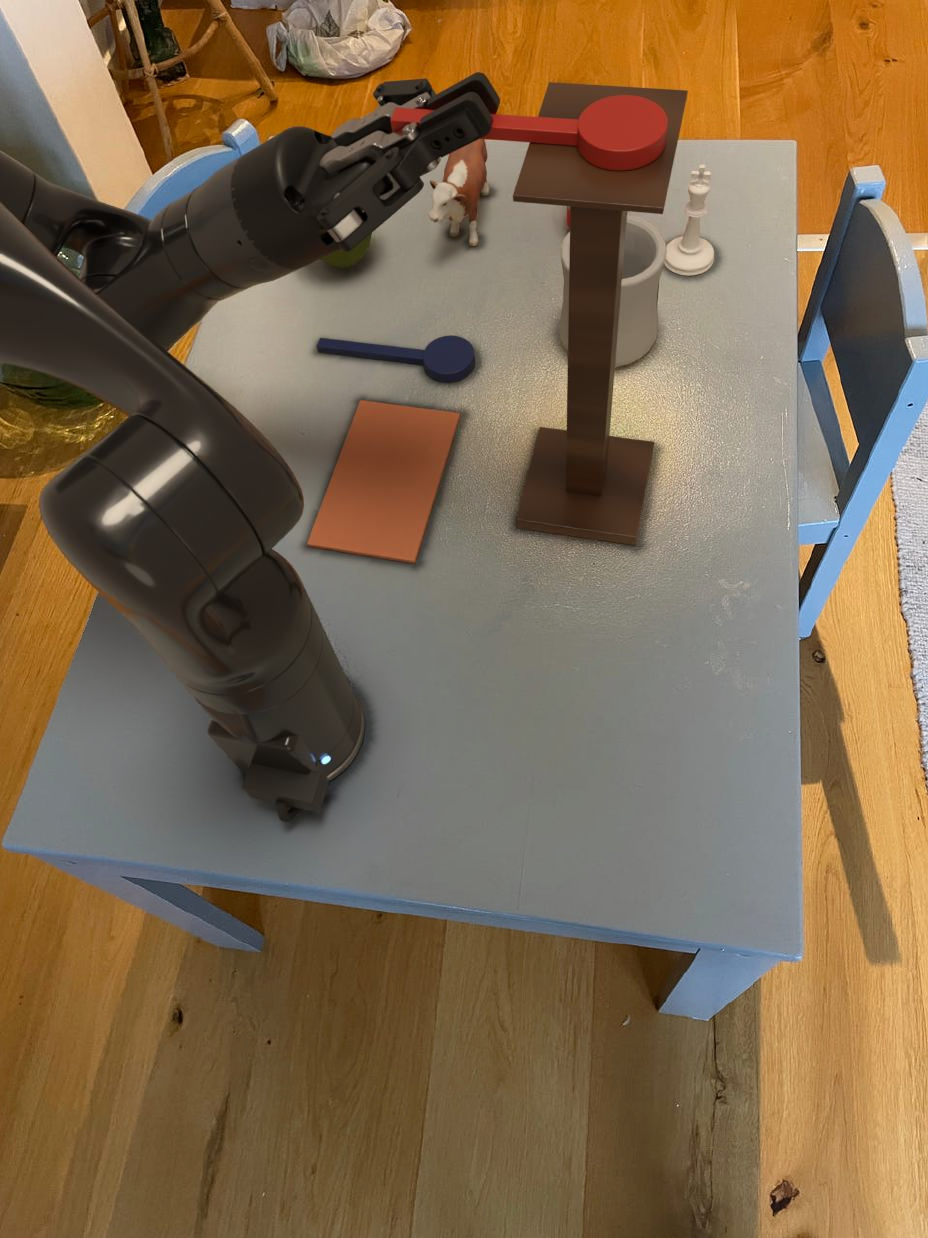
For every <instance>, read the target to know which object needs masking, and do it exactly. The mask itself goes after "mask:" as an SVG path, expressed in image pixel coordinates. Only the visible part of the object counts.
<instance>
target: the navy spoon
mask: <svg viewBox="0 0 928 1238" xmlns="http://www.w3.org/2000/svg"><path fill="white" fill-rule="evenodd" d="M316 350H317V353H323V354H329V355H330V354H331V355H338V356H348V357H356V358H363V359H370V360H371V359H372V360H380V361H381V360H382V361H388V362H397V363H404V364H405V363H406V364H412V365H420V366H421V365H423V367H424V370H425V372H426V374H427V375H428V376H429V377H430V378H431V379H433V380H434V381H437V382H439V383H447V384H449V383H455V382H459V381H461V380H463V379H464V380H465V378H467V377H468V376H469V375H470V374H471V373H472V372H473V370H474V369H475V366H476V355H475V349H474V347H473V344H472V343H471V342H470V341H469V340H467V339H466V338H464V337H462V336H458V335H443V336H440V337H437V338H435V339H433V340H431V341H430V342H429V343H428V344H427V345H426V347H425V348H424V349H420V348H411V347H403V346H393V345H385V344H379V343H378V344H377V343H369V342H362V341H361V342H360V341H352V340H343V339H334V338H325V337H319V339H318V342H317V344H316Z"/></svg>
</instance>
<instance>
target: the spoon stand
mask: <svg viewBox="0 0 928 1238" xmlns="http://www.w3.org/2000/svg"><path fill="white" fill-rule="evenodd" d="M688 93H689V91H688V90H685V89H672V88H671V89H670V88H655V87H654V88H653V87H636V86H620V85H603V84H589V83H588V84H586V83H571V82H570V83H569V82H555V81H554V82H553V81H549V82H548V84H547V87H546V90H545V93H544V97H543V99H542V102H541V105H540V109H539V112H538V115H537V117H546V118H561V119H576V120H579V117H580V115H581V114H582V112H583V111H584V110H585V109H586V108H587V107H588V106H589V105H591V104H592V103H594V102H596V101H598V100H601V99H603V98H607V97H611V96H617V95H632V96H639V97H643V98H646V99H649V100H651V101H653V102H655V103H656V104H658V105H659V106H660V107H661V108H662V109H663V110H664V112H665V113H666V116H667V119H668V127H667V136H666V144H665V148H664V150H663V151H662V153H661V154H660V156H659V157H658V158H657V159H655V160H654V161H653V162H651V163H649V164H647V165H645V166H643V167H640V168H636V169H632V170H623V171H615V170H607V169H603V168H600V167H597V166H595V165H593V164H591V163H589V162H588V161H586V160H585V159H584V158H583V157H582V155H581V154H580V152H579V150H578V146H572V145H558V144H544V143H530V142H528V143H529V144H528V147H527V150H526V152H525V156H524V158H523V159H524V160H523V162H522V166H521V169H520V172H519V175H518V178H517V180H516V181H517V182H516V184H515V188H514V190H513V194H512V202H515V203H526V204H527V203H528V204H537V205H548V206H550V205H551V206H561V207H567V206H570V228H569V232H570V257H569V316H568V351H567V374H566V375H567V381H566V387H567V388H566V429H559V428H552V427H544V426H539V428H538V431H537V434H536V435H537V436H536V440H535V443H534V447H533V451H532V455H531V458H530V462H529V467H528V470H527V475H526V478H525V482H524V487H523V491H522V495H521V498H520V502H519V506H518V509H517V514H516V518H515V525H516V528H517V529H524V530H531V531H538V532H545V533H550V534H551V533H552V534H556V535H557V534H558V535H563V536H564V535H565V536H570V537H576V538H577V537H578V538H585V539H591V540H597V541H603V542H609V543H610V542H611V543H616V544H623V545H629V546H636V545H637V541H638V536H639V530H640V525H641V520H642V513H643V508H644V503H645V499H646V492H647V487H648V483H649V481H648V480H649V476H650V471H651V465H652V460H653V454H654V448H655V441H651V440H644V439H643V440H642V439H637V438H630V437H629V438H628V437H620V436H614V435H611V424H612V423H611V422H612V409H613V397H614V396H613V395H614V385H615V370H616V367H615V360H616V347H617V335H618V322H619V310H620V297H621V285H622V272H623V260H624V247H625V234H626V222H627V215H628V212H630V213H631V212H632V213H643V214H655V215H663V214H664V211H665V206H666V201H667V196H668V191H669V188H670V187H669V185H670V181H671V177H672V171H673V167H674V162H675V158H676V154H677V153H676V152H677V148H678V143H679V137H680V132H681V127H682V123H683V118H684V114H685V108H686V104H687V99H688Z"/></svg>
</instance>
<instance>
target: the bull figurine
mask: <svg viewBox="0 0 928 1238" xmlns="http://www.w3.org/2000/svg"><path fill="white" fill-rule="evenodd" d="M487 161H488V150H487V143H486V139H478V140H476V141H474V142H472V143H470V144H468V145H466V146H464V147H462V148H460V149H458V150H456V151H454V152H452V153H450V154H448V157H447V161H446V163H445V166H444V171H443V178H442V180H441V182H439V183H437V182H436V181H433V180H432V179H430V180H429V184H430V186H431V188H432V190H433V191H432V193H431V203H432V206H431V210H430V212H429V213H428V218H429V220H431V222H433V223H440V222H442V221H443V220H444V219H449V221H450V222H451V224H450V228H449V236H451V237H456V236H458V235H459V233H460V226H461V225H460V223H462V221H463V220H464V218H465V217H469V218H468V226H469V231H470V232H469V238H468V245H469V246H471V247H477V246H478V245H479V243H480V242H479V238H478V237H479V234H478V232H477V226H478V211H479V209H478V205H479V201H480V195H481V196H482V197H485V196H489V194H490V187H489V182H488V181H487V178H488V177H487V175H488V172H487V166H486V163H487Z"/></svg>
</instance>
